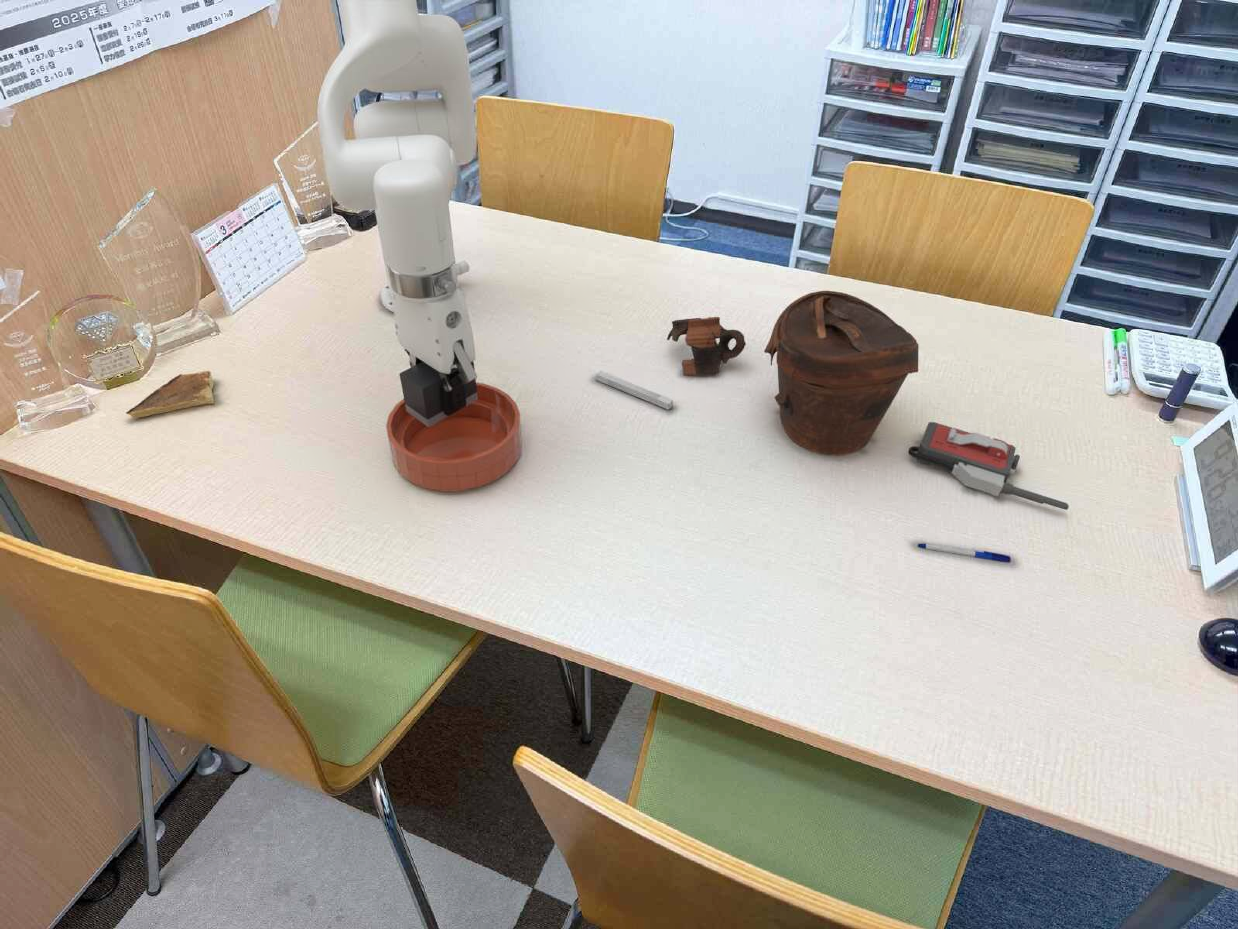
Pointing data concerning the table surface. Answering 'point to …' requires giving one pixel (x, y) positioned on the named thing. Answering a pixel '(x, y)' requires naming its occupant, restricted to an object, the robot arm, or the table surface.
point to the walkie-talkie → (974, 461)
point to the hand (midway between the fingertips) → (441, 399)
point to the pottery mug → (706, 344)
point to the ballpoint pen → (968, 552)
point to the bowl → (458, 443)
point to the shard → (177, 395)
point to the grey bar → (635, 390)
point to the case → (837, 369)
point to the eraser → (429, 392)
